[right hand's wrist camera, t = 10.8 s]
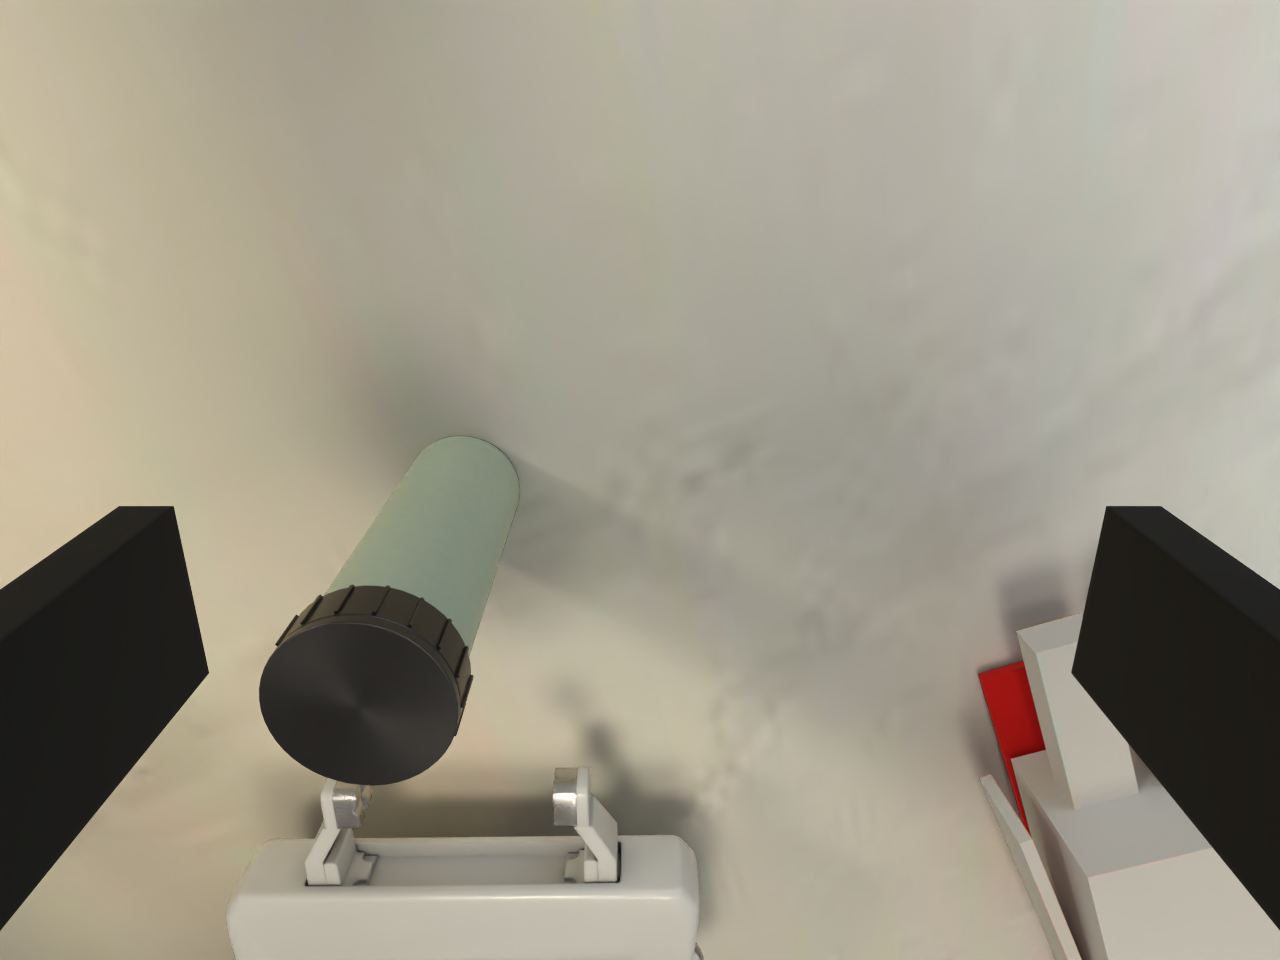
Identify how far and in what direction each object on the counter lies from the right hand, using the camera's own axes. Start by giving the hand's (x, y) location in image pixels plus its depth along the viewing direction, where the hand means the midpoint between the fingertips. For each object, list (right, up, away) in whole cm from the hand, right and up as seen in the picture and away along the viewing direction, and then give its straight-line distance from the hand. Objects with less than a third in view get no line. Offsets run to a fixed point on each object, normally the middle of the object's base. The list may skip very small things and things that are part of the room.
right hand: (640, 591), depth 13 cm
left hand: (-8, -11, +23) cm, 27 cm away
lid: (-8, -4, +11) cm, 14 cm away
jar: (-8, +1, +25) cm, 26 cm away
